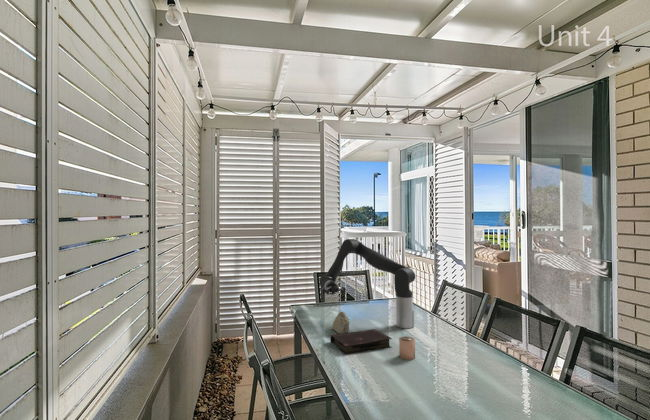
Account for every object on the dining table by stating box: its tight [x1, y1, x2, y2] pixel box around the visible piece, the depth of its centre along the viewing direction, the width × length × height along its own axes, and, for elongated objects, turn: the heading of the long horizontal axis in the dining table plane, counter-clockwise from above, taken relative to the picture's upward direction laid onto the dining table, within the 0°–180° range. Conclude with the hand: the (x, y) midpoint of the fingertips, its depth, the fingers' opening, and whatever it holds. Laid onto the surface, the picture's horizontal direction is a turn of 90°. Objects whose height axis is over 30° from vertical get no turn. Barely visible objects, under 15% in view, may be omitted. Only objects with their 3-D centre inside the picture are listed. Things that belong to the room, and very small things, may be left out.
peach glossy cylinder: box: [398, 335, 416, 361], centre depth 169 cm, size 7×7×8 cm
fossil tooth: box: [331, 311, 351, 334], centre depth 205 cm, size 12×6×15 cm
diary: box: [330, 329, 393, 355], centre depth 184 cm, size 19×25×5 cm
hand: (335, 292), depth 220 cm, fingers open, 8 cm apart
